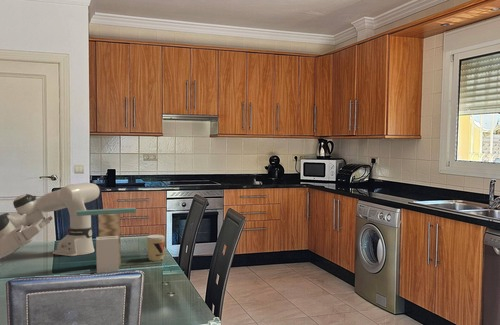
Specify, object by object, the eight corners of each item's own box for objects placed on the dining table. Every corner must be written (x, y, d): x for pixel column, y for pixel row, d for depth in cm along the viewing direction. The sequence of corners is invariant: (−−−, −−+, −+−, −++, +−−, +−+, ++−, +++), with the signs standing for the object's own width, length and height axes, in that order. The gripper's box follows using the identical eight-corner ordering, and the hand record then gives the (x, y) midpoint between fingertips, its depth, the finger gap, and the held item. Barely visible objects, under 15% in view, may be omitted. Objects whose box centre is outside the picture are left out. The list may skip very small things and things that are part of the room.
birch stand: (99, 268, 220) (98, 215, 219) (99, 264, 228) (98, 213, 227) (120, 266, 223) (119, 214, 222) (120, 262, 231) (119, 211, 230)
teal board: (76, 215, 218) (76, 211, 218) (77, 214, 222) (77, 210, 222) (136, 212, 226) (135, 208, 226) (135, 211, 231) (135, 207, 231)
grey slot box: (96, 273, 210) (96, 240, 209) (97, 270, 217) (96, 237, 216) (119, 271, 213) (118, 238, 212) (118, 268, 220) (118, 235, 219)
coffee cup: (156, 261, 231) (156, 238, 231) (143, 259, 236) (142, 236, 236) (168, 258, 239) (168, 235, 238) (155, 255, 244) (155, 233, 243)
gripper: (31, 236, 224) (56, 221, 227) (23, 244, 204) (51, 227, 208) (23, 225, 223) (49, 210, 226) (15, 233, 203) (44, 216, 206)
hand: (50, 218), depth 217 cm, fingers open, 8 cm apart
